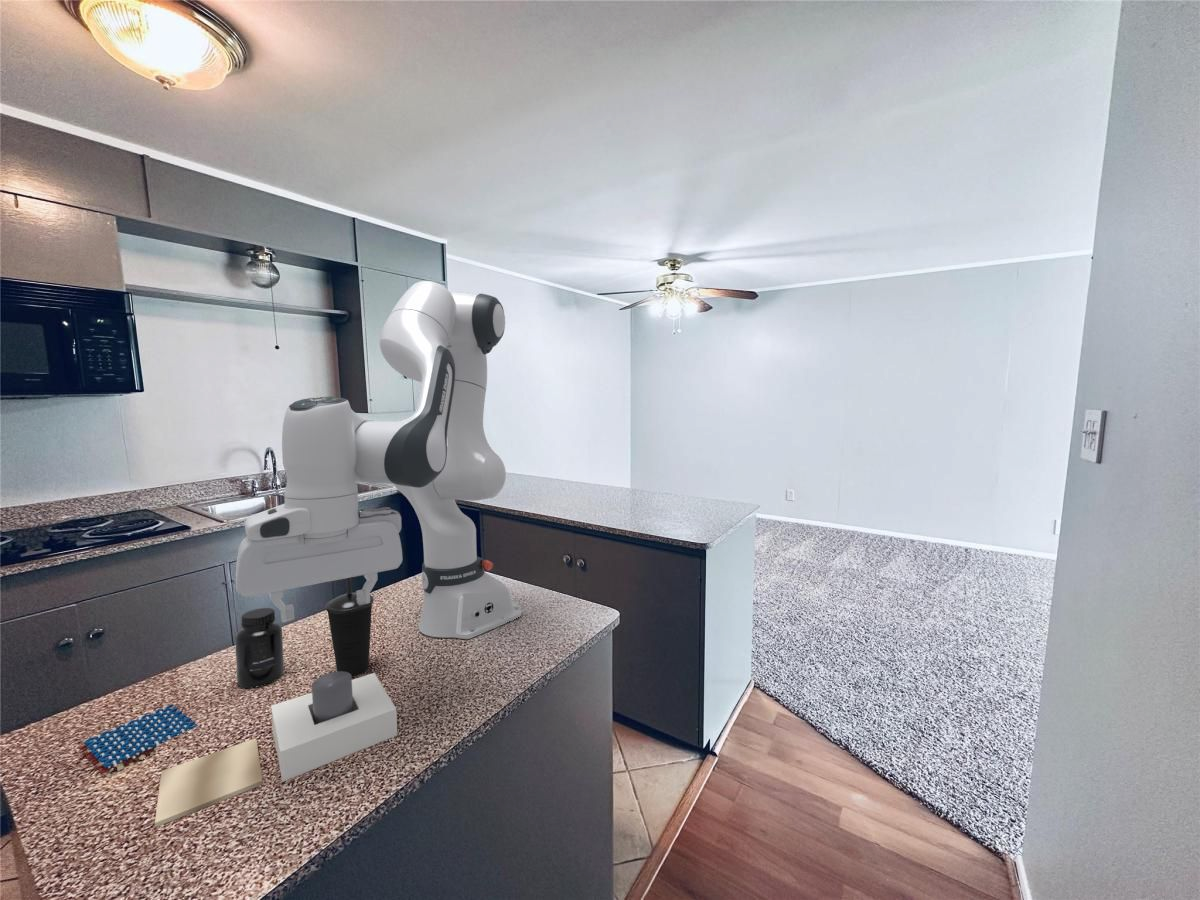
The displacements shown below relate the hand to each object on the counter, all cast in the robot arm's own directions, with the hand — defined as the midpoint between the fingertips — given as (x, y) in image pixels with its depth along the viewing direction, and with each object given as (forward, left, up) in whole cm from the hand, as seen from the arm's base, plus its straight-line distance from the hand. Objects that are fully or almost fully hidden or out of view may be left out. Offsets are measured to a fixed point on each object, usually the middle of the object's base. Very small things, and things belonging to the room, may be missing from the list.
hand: (327, 611), depth 69 cm
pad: (+14, 0, -19) cm, 24 cm away
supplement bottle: (+7, -26, -20) cm, 33 cm away
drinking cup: (-6, -17, -20) cm, 27 cm away
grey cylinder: (0, 0, -19) cm, 19 cm away
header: (0, 0, -19) cm, 19 cm away
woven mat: (+22, -17, -20) cm, 34 cm away
